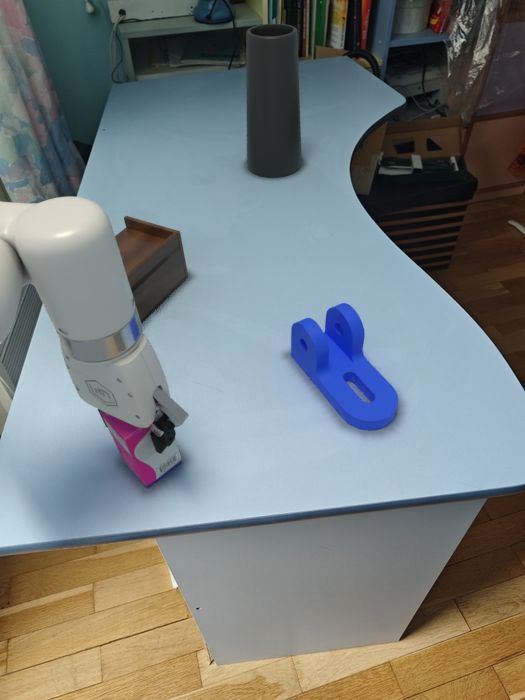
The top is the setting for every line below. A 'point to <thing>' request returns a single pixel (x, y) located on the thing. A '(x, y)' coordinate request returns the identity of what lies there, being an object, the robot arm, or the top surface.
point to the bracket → (343, 367)
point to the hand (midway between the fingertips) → (140, 430)
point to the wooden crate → (151, 263)
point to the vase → (273, 100)
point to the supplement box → (142, 450)
